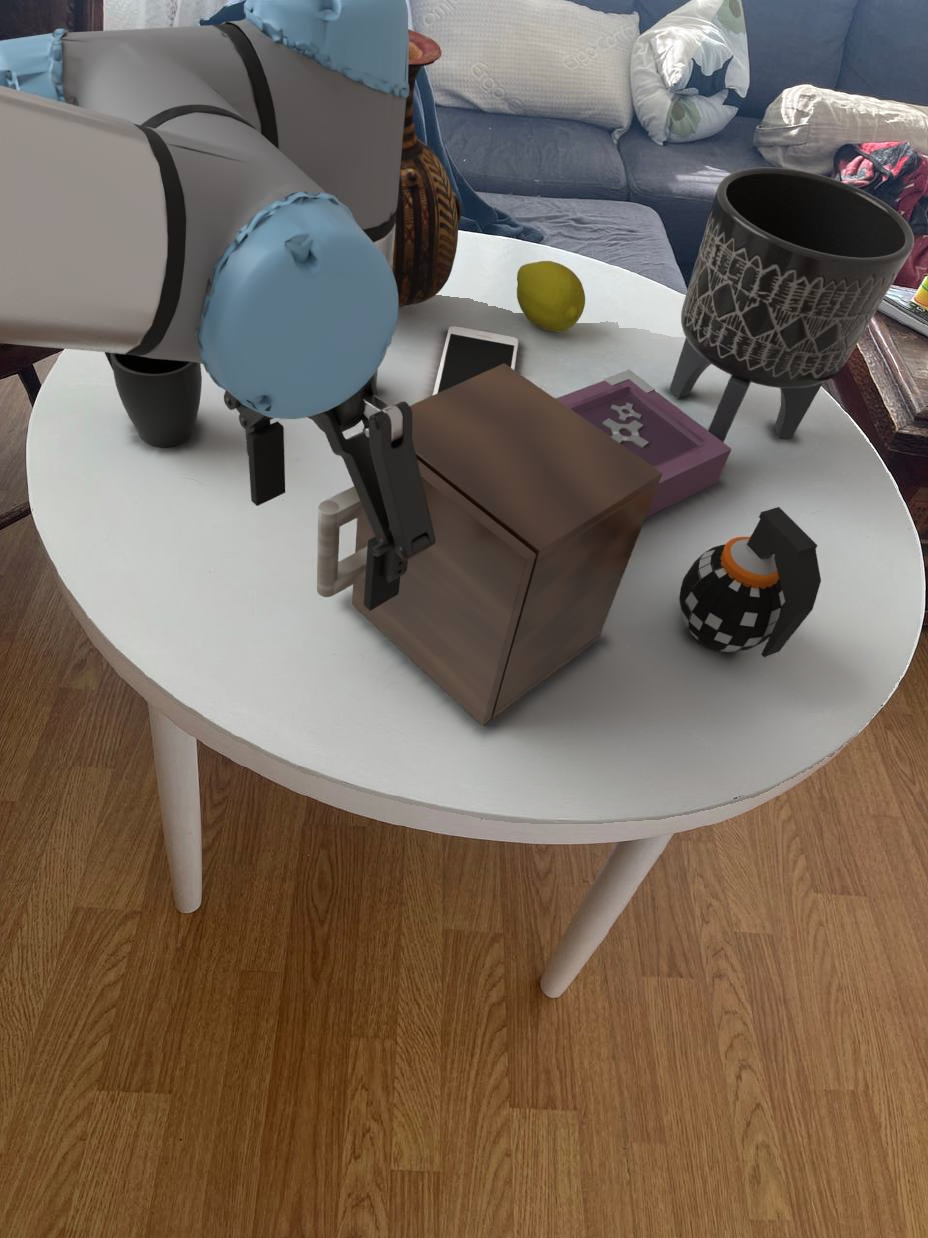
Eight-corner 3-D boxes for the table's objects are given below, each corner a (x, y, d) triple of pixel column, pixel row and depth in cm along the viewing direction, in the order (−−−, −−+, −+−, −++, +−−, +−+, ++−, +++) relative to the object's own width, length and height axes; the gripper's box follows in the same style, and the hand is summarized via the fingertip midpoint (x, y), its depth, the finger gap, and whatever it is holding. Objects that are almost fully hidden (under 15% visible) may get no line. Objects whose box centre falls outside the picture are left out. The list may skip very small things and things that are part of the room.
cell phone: (428, 415, 102) (429, 408, 101) (448, 331, 114) (449, 324, 113) (505, 429, 102) (507, 422, 101) (517, 344, 114) (519, 337, 113)
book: (618, 405, 108) (629, 369, 104) (717, 483, 101) (732, 447, 97) (450, 471, 96) (456, 433, 92) (549, 565, 89) (560, 528, 85)
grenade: (796, 669, 84) (872, 556, 73) (718, 700, 80) (786, 586, 69) (721, 585, 90) (781, 468, 79) (646, 610, 86) (698, 492, 75)
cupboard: (492, 719, 76) (539, 550, 61) (362, 598, 82) (375, 420, 68) (598, 640, 83) (663, 472, 68) (470, 535, 90) (504, 362, 75)
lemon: (590, 341, 117) (606, 284, 111) (539, 350, 114) (553, 292, 108) (547, 298, 123) (560, 241, 117) (498, 306, 119) (508, 248, 113)
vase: (439, 267, 124) (470, 16, 102) (475, 342, 113) (518, 79, 91) (282, 268, 118) (278, 3, 96) (304, 347, 107) (305, 68, 85)
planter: (775, 386, 116) (872, 177, 96) (824, 488, 103) (948, 270, 83) (628, 374, 113) (697, 156, 93) (660, 477, 100) (748, 249, 80)
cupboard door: (431, 764, 72) (464, 599, 57) (299, 634, 79) (299, 456, 64) (490, 719, 75) (536, 554, 61) (360, 599, 82) (372, 423, 68)
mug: (149, 381, 99) (137, 301, 92) (223, 432, 95) (217, 354, 88) (84, 411, 94) (66, 330, 87) (159, 466, 90) (147, 386, 83)
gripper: (524, 371, 49) (471, 622, 65) (252, 184, 59) (264, 441, 75) (422, 419, 45) (393, 674, 61) (150, 210, 55) (186, 476, 71)
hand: (322, 546), depth 68 cm, fingers open, 13 cm apart
